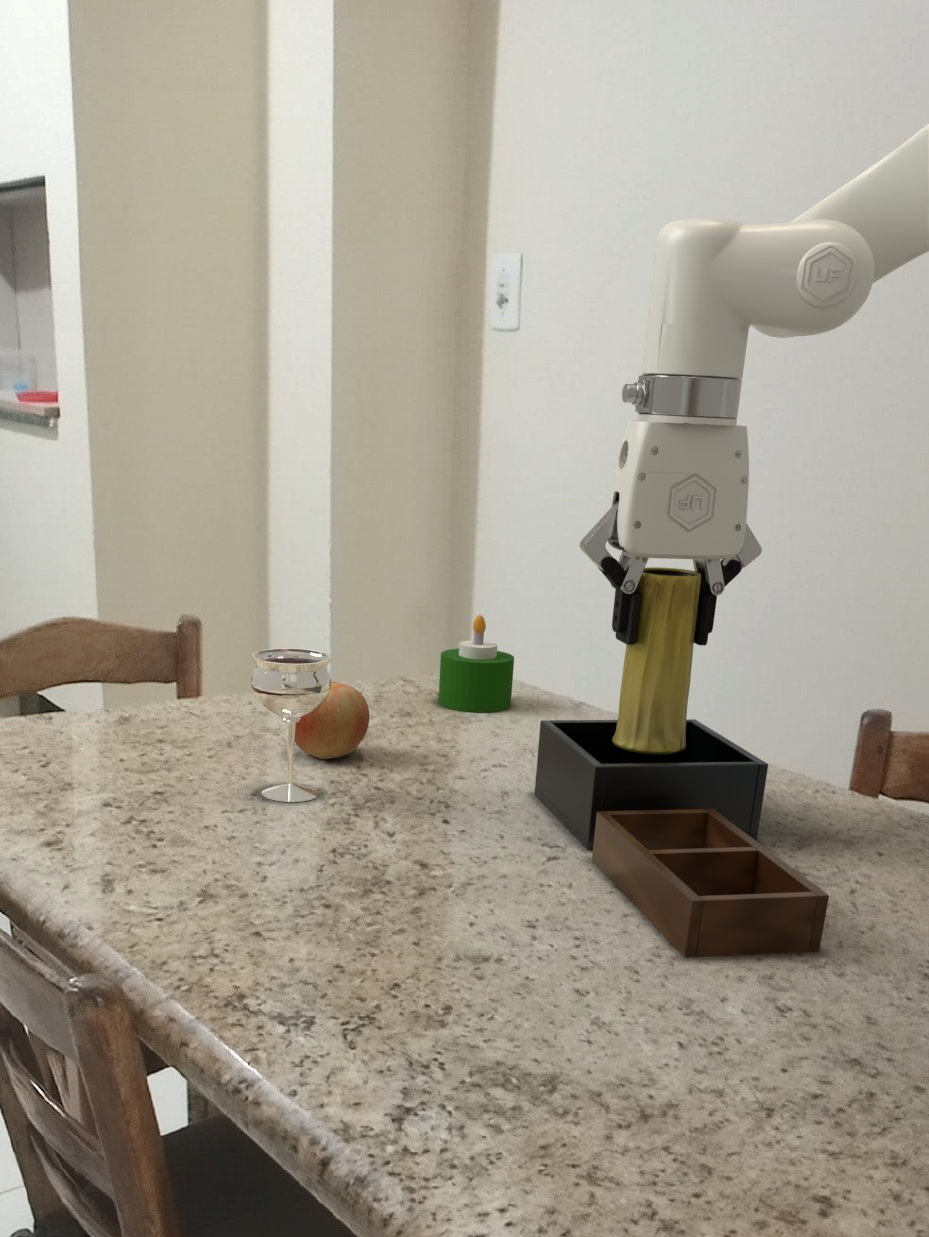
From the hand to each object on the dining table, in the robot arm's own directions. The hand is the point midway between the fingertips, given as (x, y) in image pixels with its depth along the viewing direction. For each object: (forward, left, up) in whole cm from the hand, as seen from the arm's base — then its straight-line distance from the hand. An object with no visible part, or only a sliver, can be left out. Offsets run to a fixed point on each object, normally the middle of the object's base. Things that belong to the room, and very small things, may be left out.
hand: (660, 639), depth 105 cm
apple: (+24, -21, -15) cm, 35 cm away
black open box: (0, 0, -15) cm, 15 cm away
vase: (0, 0, -9) cm, 9 cm away
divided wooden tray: (+3, +19, -15) cm, 25 cm away
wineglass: (+29, -9, -15) cm, 34 cm away
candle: (+4, -42, -15) cm, 45 cm away
